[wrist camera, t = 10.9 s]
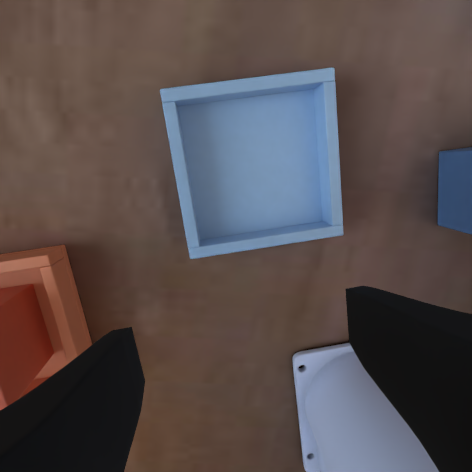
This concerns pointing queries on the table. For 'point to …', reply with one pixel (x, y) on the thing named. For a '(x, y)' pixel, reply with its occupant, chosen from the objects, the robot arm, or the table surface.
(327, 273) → the table surface
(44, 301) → the red tray
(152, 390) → the table surface
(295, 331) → the table surface
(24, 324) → the red block
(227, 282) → the table surface
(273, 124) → the blue tray
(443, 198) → the blue block
